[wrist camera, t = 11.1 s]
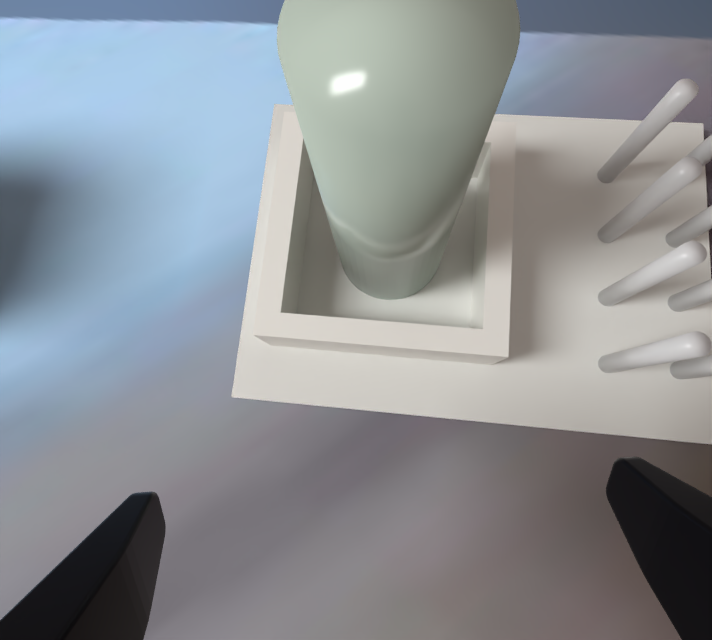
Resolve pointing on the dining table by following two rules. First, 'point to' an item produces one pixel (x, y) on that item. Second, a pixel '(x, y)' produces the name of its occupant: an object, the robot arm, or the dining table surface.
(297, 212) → the dish drying rack
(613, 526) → the dining table surface
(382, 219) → the sage green domed cylinder
